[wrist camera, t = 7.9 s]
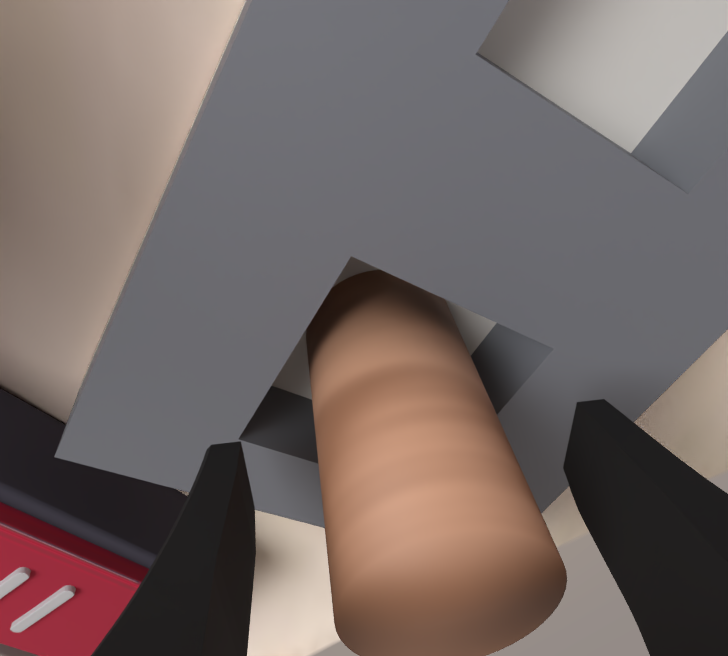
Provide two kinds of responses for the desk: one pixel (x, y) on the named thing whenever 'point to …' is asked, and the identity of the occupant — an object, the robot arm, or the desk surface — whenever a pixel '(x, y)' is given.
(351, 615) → the peg
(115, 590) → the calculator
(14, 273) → the desk surface
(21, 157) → the desk surface
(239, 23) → the board
